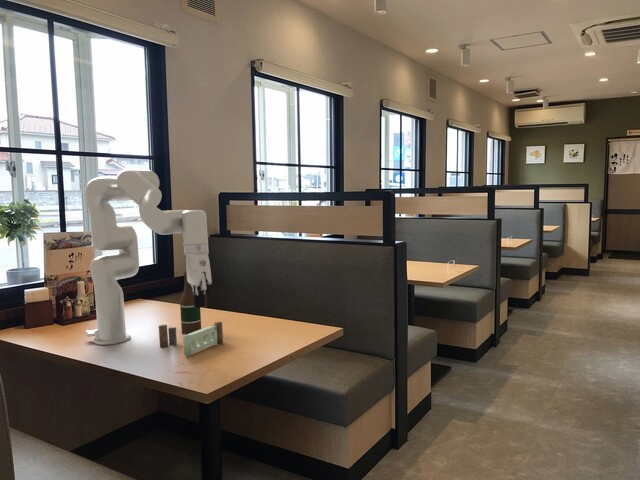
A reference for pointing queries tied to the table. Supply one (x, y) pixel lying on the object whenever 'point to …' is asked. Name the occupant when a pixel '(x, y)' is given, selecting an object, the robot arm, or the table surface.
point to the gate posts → (173, 339)
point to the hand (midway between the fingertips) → (199, 306)
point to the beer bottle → (189, 310)
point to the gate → (200, 340)
